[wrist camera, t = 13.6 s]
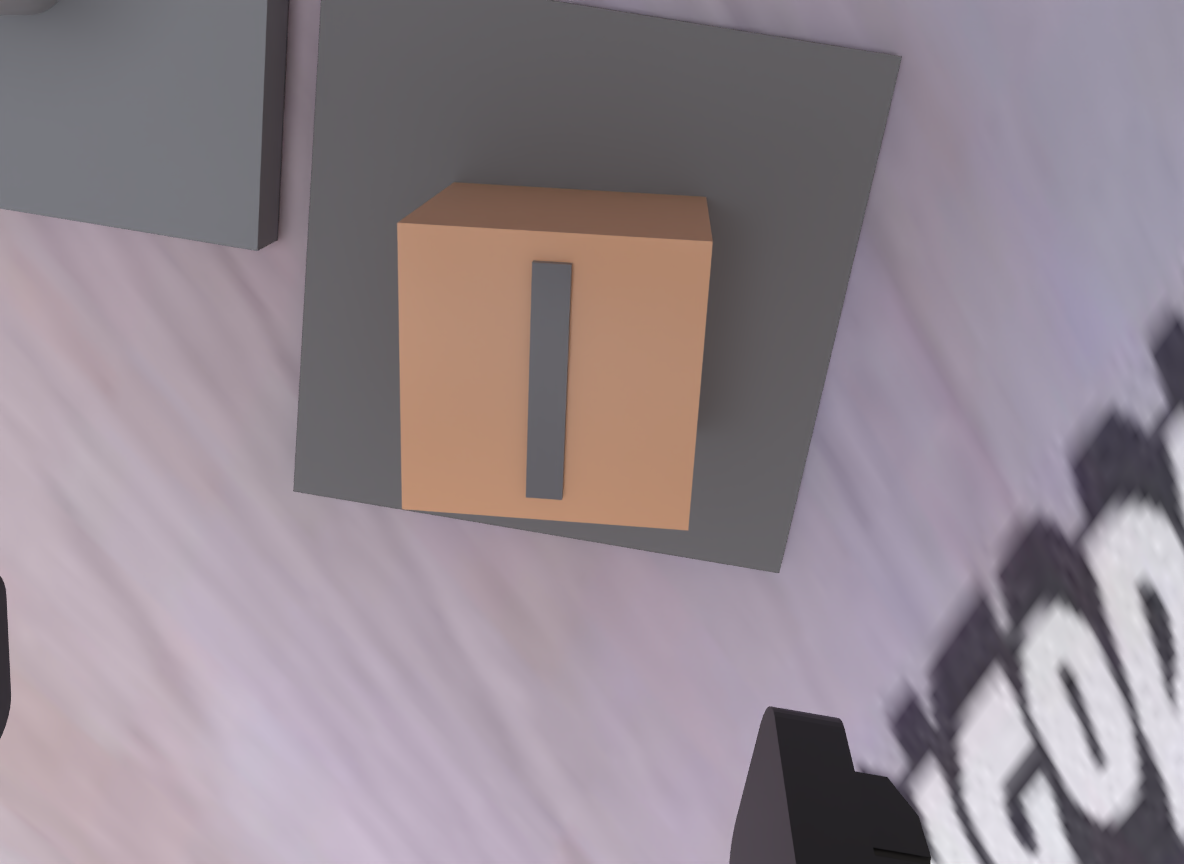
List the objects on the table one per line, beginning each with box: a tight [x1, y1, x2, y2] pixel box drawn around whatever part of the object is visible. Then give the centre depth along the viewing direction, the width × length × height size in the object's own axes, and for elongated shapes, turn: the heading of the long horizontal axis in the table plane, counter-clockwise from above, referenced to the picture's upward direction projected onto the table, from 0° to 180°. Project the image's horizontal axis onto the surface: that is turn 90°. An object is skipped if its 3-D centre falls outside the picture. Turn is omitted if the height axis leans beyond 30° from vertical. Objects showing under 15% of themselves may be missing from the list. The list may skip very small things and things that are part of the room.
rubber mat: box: [293, 0, 902, 573], centre depth 29 cm, size 14×14×1 cm
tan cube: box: [397, 182, 713, 530], centre depth 26 cm, size 6×6×6 cm
